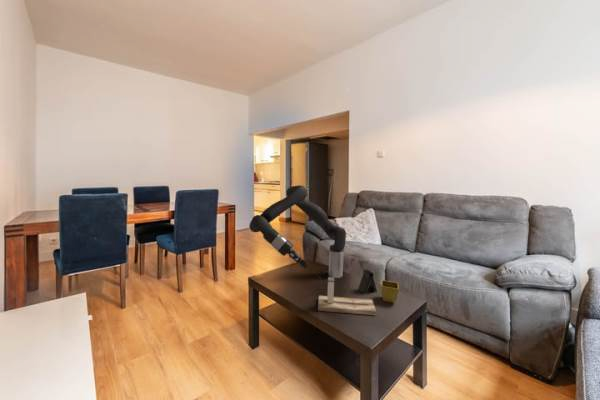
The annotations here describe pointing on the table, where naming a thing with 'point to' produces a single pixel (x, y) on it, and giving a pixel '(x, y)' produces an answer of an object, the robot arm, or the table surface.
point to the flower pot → (389, 291)
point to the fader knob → (330, 290)
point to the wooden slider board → (347, 305)
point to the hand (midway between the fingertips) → (305, 265)
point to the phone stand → (367, 283)
